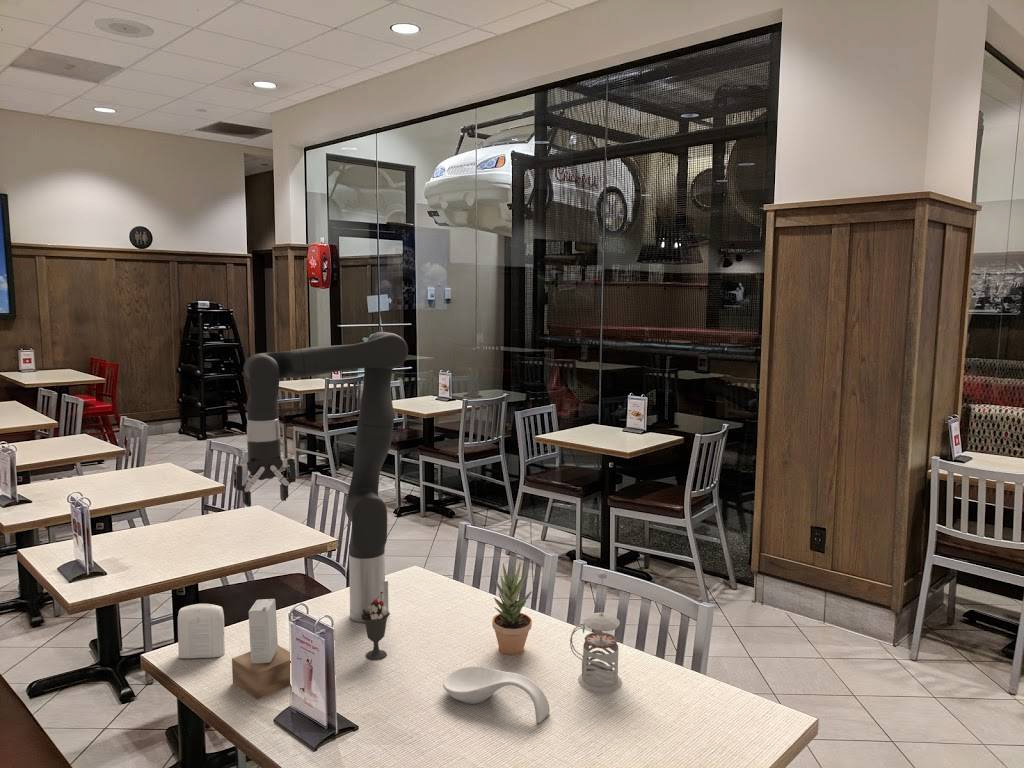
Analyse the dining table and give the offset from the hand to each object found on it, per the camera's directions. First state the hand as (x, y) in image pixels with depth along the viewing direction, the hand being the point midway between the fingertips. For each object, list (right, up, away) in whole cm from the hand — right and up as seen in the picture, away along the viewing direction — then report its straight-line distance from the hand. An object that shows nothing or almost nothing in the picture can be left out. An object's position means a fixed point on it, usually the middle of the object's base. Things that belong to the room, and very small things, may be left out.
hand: (265, 503), depth 178 cm
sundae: (+28, -35, -5) cm, 45 cm away
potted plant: (+60, -35, -1) cm, 69 cm away
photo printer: (-13, -35, -6) cm, 38 cm away
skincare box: (+6, -31, -18) cm, 36 cm away
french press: (+78, -37, -16) cm, 88 cm away
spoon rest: (+56, -38, -25) cm, 72 cm away
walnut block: (+6, -37, -17) cm, 41 cm away
